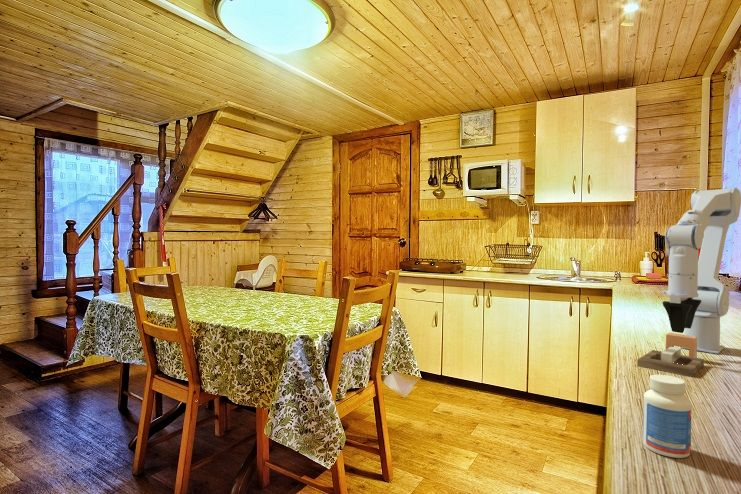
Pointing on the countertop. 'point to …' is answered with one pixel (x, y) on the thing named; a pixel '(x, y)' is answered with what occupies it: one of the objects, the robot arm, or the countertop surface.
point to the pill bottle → (667, 417)
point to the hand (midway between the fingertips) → (681, 329)
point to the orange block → (682, 342)
